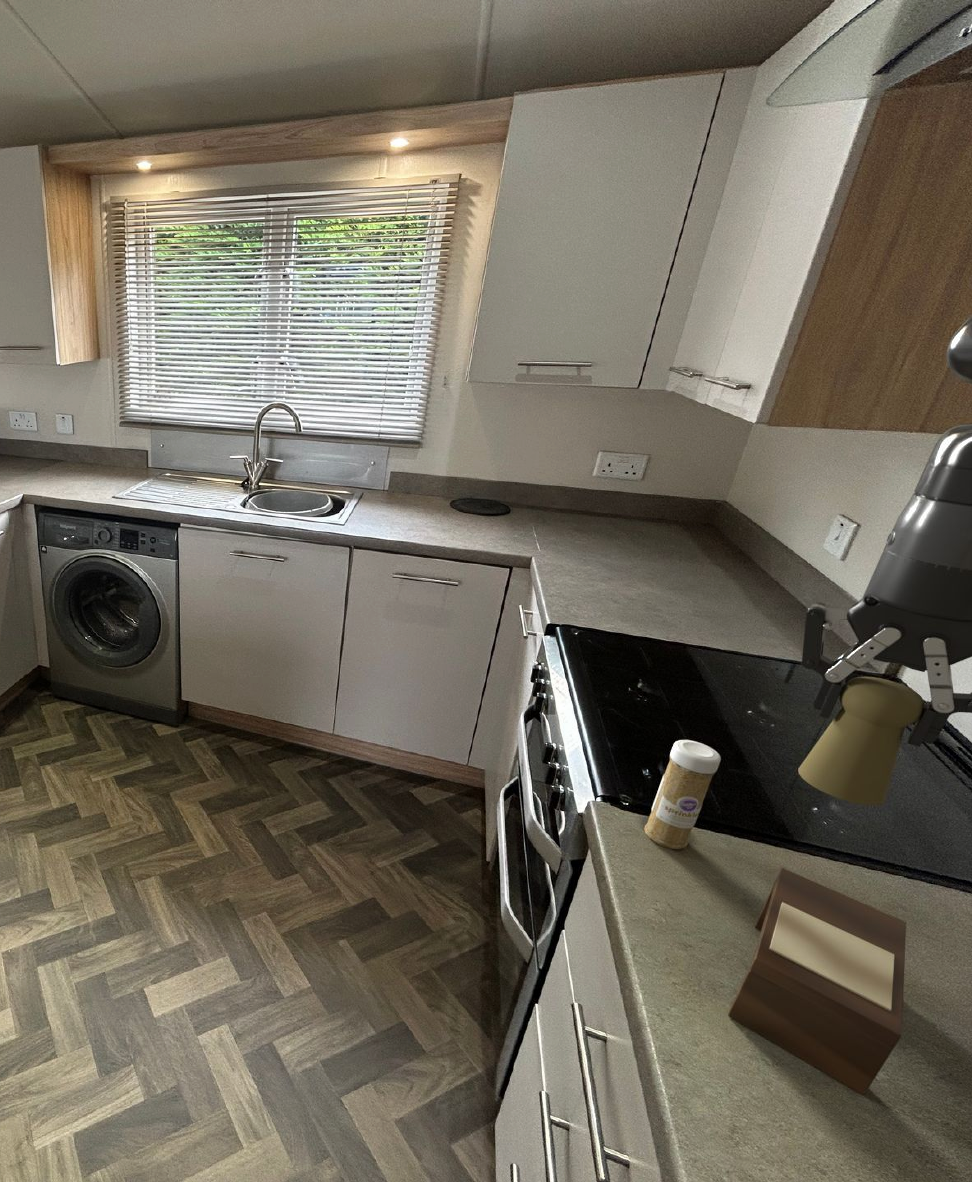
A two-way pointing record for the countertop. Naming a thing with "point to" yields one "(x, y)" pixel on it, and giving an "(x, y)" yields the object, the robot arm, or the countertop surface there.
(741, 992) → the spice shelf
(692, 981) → the countertop surface
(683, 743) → the sprinkles bottle
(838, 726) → the cork
